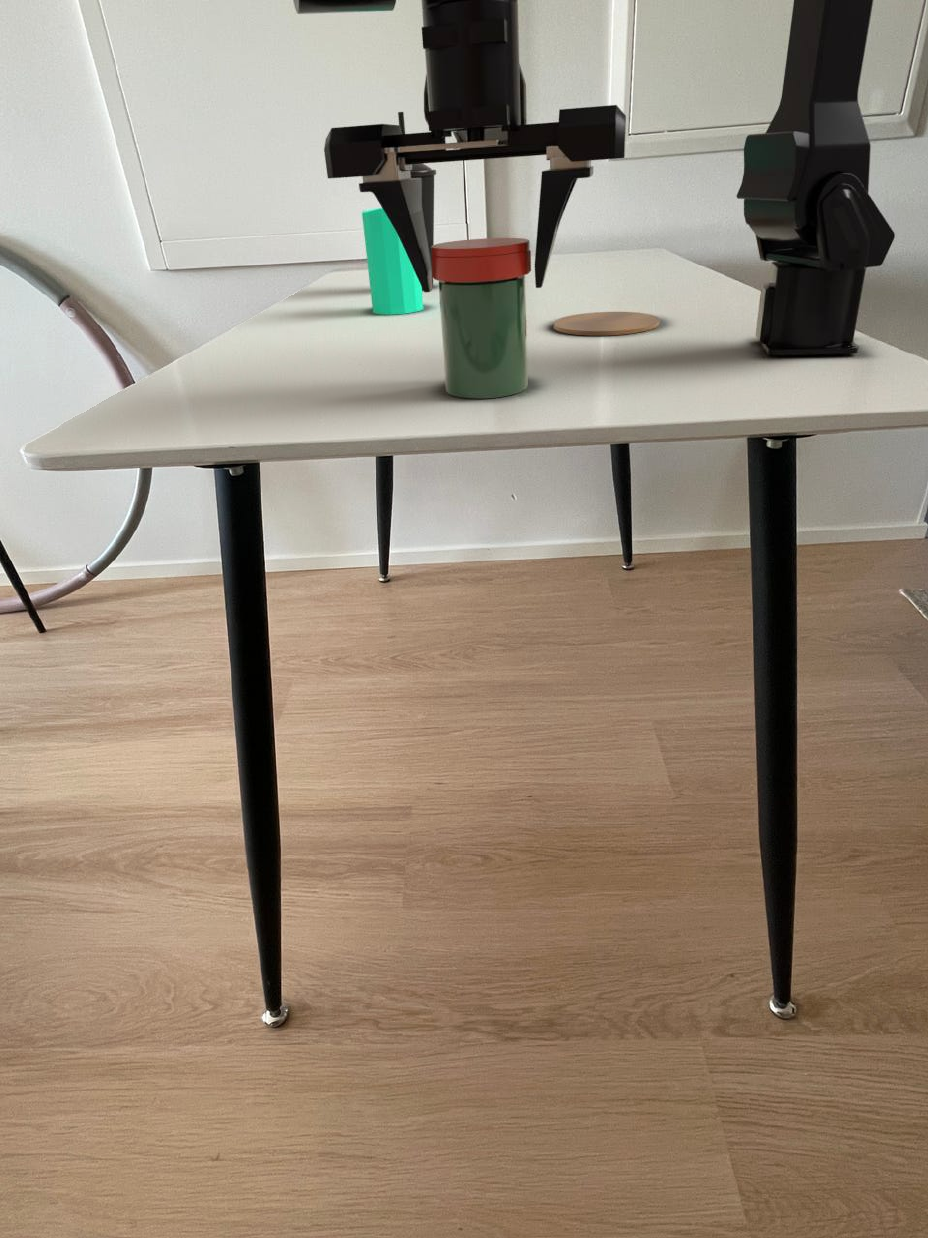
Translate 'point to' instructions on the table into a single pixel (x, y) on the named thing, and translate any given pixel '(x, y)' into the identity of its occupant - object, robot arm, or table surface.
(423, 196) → the drinking cup
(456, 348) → the jam jar
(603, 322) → the coaster
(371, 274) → the candle
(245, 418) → the table surface
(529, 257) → the jam lid
